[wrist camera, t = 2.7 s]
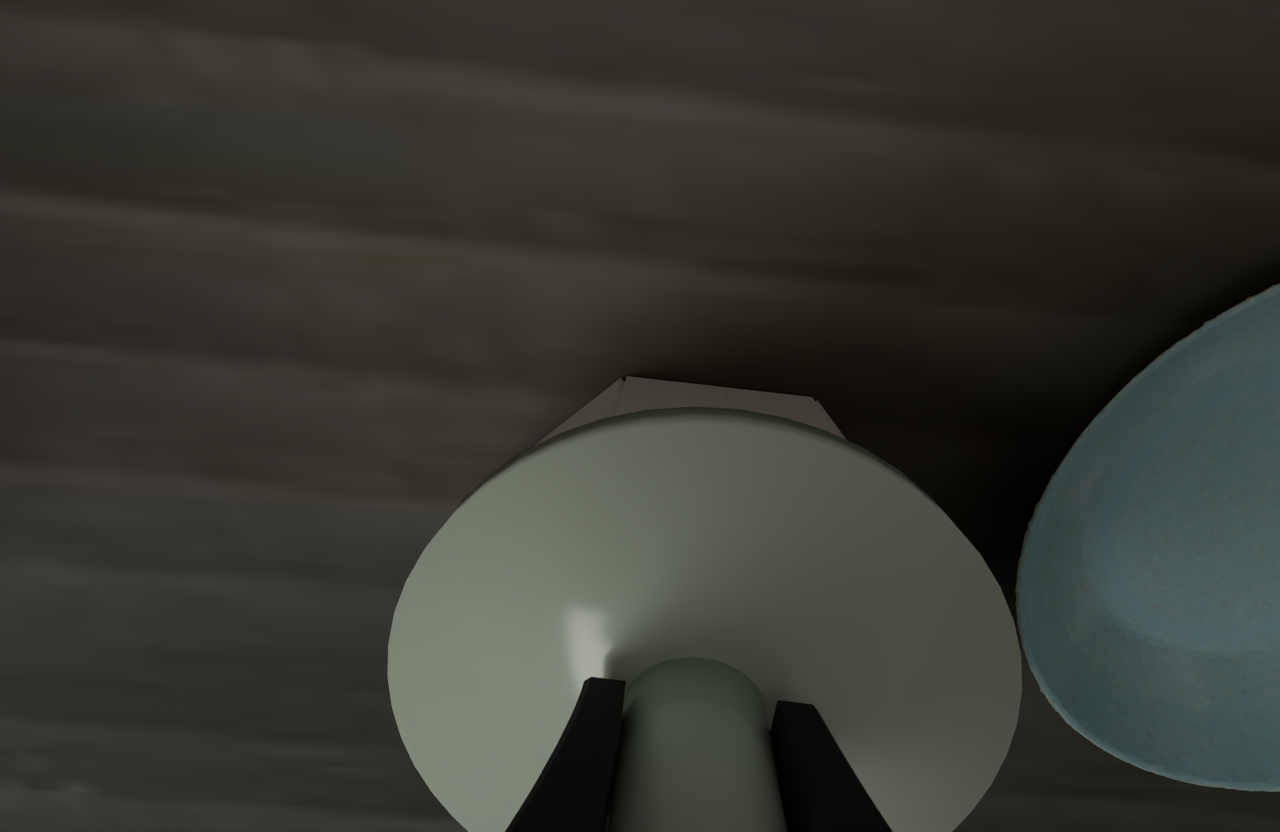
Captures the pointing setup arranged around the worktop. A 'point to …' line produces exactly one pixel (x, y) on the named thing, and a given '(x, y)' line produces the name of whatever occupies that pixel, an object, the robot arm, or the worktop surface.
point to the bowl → (695, 403)
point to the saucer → (1170, 563)
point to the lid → (704, 625)
